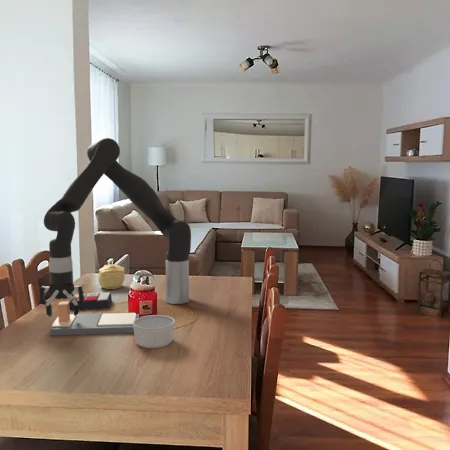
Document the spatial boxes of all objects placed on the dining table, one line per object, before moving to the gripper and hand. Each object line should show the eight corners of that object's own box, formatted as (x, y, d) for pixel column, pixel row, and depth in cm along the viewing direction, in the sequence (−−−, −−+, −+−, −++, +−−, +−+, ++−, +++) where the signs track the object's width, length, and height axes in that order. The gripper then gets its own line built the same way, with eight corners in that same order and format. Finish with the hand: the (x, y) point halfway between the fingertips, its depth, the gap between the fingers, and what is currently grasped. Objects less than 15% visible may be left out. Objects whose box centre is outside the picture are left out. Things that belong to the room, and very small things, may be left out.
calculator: (73, 293, 205) (111, 290, 207) (74, 303, 206) (111, 301, 208) (68, 301, 195) (108, 298, 196) (69, 312, 195) (108, 309, 197)
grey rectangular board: (139, 317, 186) (139, 311, 186) (136, 332, 170) (136, 325, 170) (60, 319, 183) (60, 313, 183) (50, 335, 167) (50, 328, 167)
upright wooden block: (76, 315, 181) (75, 298, 181) (69, 326, 170) (69, 308, 169) (59, 315, 181) (58, 298, 180) (51, 327, 169) (50, 308, 168)
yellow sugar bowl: (100, 292, 220) (100, 267, 219) (96, 285, 231) (95, 262, 230) (127, 289, 225) (126, 265, 223) (121, 283, 235) (121, 260, 234)
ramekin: (140, 353, 153) (140, 330, 152) (127, 339, 165) (127, 318, 164) (181, 345, 159) (181, 324, 158) (166, 332, 171) (166, 312, 170)
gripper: (84, 266, 177) (85, 311, 179) (42, 267, 176) (44, 312, 178) (80, 271, 170) (82, 318, 172) (36, 272, 168) (38, 319, 170)
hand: (62, 315), depth 175 cm, fingers open, 8 cm apart
